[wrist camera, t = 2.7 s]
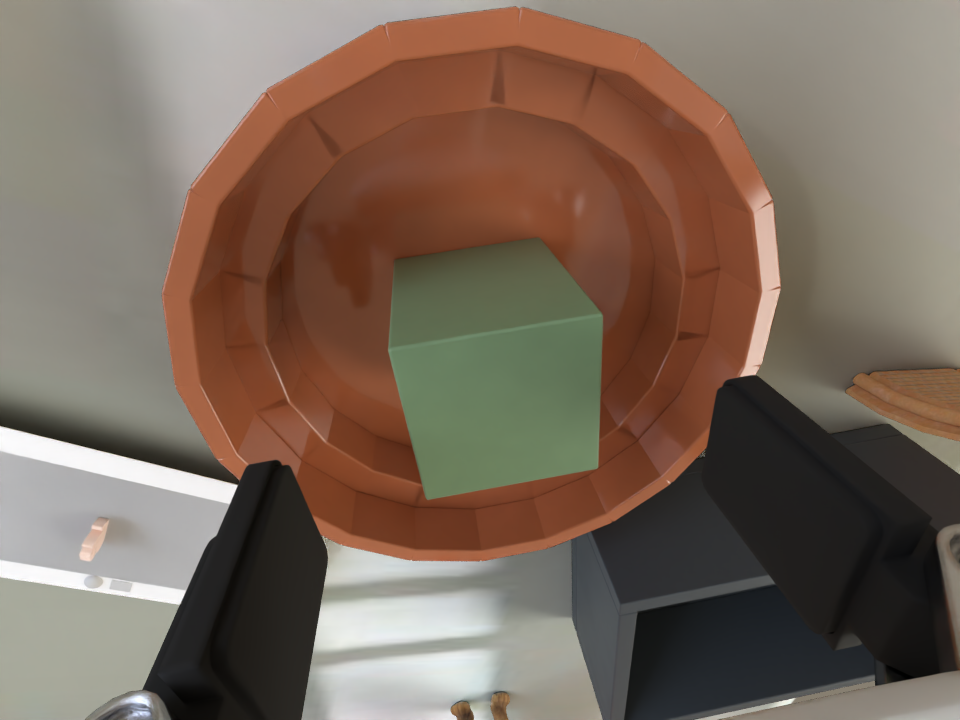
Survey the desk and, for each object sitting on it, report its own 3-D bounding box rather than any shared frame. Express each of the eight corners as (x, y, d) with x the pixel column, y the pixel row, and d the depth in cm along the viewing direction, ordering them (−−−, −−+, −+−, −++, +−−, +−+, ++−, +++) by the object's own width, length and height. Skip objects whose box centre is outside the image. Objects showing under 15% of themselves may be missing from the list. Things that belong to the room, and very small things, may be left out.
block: (393, 258, 14) (387, 349, 10) (539, 236, 15) (604, 313, 10) (420, 381, 17) (425, 501, 12) (545, 360, 17) (599, 469, 12)
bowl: (123, 72, 11) (-6, 71, 8) (731, -5, 12) (864, -38, 9) (314, 503, 20) (294, 598, 16) (669, 439, 21) (724, 515, 17)
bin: (570, 481, 21) (620, 604, 16) (888, 423, 22) (1027, 522, 17) (572, 618, 27) (608, 738, 22) (821, 568, 28) (909, 673, 23)
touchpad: (-144, 361, 14) (-227, 404, 12) (338, 488, 19) (331, 531, 18) (-132, 526, 17) (-197, 580, 15) (280, 596, 23) (268, 642, 21)
